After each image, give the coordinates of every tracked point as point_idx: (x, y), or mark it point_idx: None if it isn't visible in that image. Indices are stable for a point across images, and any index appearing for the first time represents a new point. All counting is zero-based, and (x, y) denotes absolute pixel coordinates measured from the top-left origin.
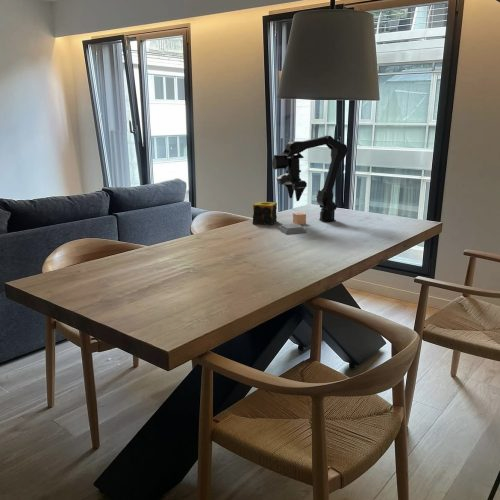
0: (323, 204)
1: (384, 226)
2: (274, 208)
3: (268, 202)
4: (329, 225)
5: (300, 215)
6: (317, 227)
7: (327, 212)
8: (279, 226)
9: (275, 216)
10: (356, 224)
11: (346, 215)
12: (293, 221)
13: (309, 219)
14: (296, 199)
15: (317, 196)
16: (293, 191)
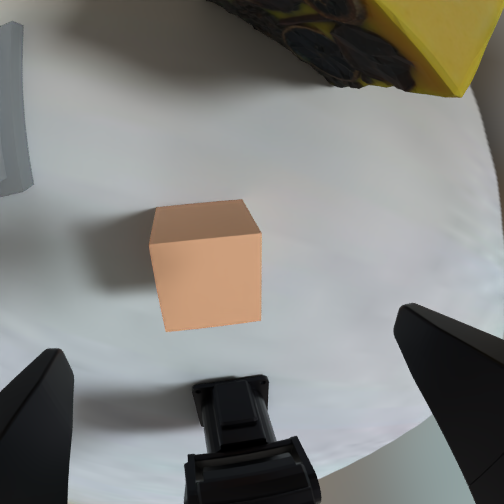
0: (204, 476)
1: (96, 482)
2: (335, 11)
3: (481, 10)
4: (106, 382)
5: (155, 278)
6: (51, 316)
7: (209, 440)
8: (9, 30)
9: (339, 65)
10: (127, 454)
11: (306, 451)
12: (230, 204)
13: (302, 332)
14: (33, 365)
15: (299, 501)
16: (444, 432)
